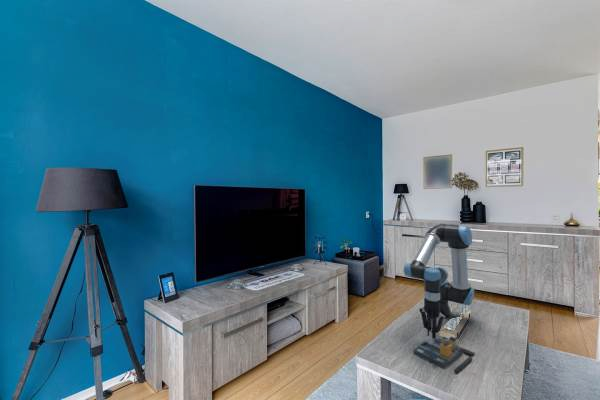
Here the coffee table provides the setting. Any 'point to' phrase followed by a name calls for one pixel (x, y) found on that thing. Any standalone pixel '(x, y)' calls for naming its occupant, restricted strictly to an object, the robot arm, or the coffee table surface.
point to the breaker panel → (438, 352)
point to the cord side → (462, 364)
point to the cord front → (463, 350)
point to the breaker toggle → (446, 349)
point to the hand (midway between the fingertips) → (431, 343)
